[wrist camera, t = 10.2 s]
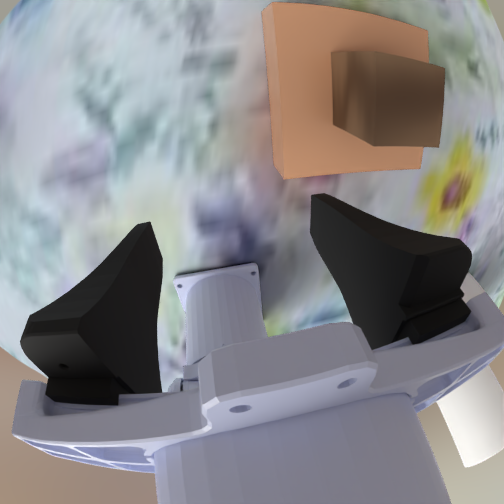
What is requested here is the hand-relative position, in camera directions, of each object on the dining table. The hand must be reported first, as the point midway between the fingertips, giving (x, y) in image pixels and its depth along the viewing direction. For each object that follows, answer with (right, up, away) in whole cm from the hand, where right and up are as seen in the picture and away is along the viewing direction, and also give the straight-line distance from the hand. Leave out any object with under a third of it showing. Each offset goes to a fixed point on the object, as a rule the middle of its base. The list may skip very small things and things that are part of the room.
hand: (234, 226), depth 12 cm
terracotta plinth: (+8, +11, +5) cm, 15 cm away
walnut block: (+8, +10, +3) cm, 13 cm away
